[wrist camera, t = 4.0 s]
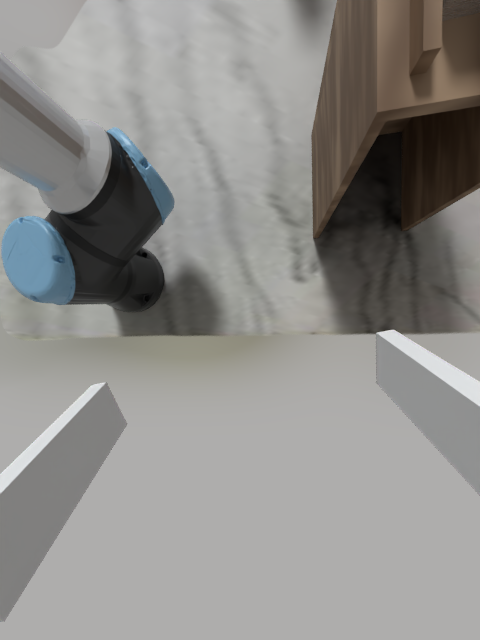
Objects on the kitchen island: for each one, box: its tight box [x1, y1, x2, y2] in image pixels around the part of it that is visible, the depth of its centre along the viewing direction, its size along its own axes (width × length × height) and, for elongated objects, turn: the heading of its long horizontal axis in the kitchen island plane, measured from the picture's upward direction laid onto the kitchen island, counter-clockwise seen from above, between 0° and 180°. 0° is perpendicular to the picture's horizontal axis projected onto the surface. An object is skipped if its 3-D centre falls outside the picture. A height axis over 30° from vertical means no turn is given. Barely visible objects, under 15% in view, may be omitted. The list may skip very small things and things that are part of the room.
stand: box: [312, 0, 480, 238], centre depth 28 cm, size 17×20×32 cm
